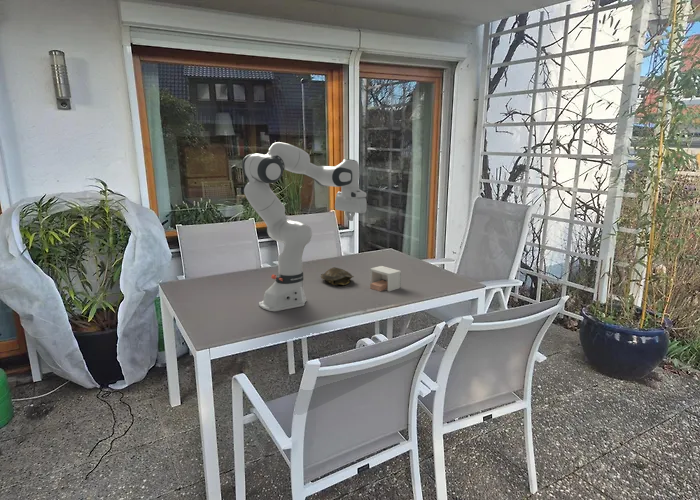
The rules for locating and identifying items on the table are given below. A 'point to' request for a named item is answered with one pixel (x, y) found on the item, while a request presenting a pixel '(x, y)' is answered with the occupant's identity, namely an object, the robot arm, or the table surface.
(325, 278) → the turtle shell
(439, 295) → the table surface
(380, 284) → the tan rectangular block
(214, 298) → the table surface
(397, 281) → the white storage bin
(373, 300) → the table surface
